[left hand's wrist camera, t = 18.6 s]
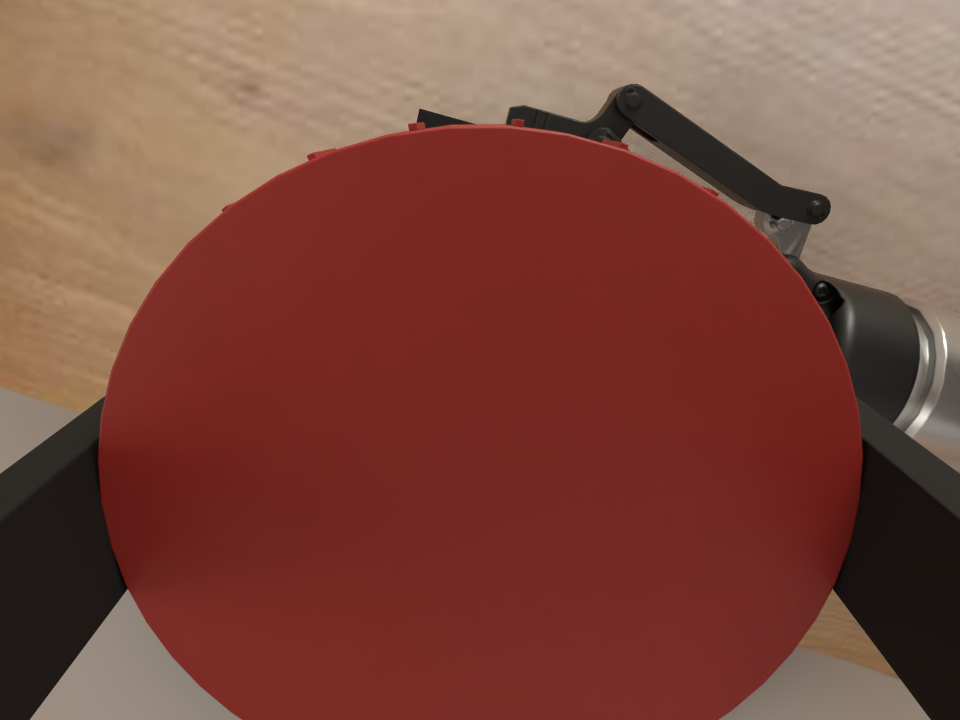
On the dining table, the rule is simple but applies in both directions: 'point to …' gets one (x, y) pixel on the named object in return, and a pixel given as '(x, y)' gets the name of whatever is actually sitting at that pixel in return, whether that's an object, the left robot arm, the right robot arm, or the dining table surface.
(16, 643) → the left robot arm
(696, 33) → the dining table surface
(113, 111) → the dining table surface
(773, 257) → the lid
